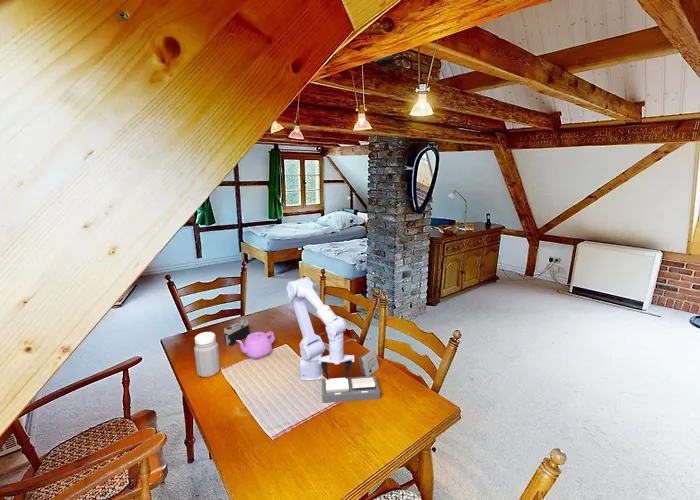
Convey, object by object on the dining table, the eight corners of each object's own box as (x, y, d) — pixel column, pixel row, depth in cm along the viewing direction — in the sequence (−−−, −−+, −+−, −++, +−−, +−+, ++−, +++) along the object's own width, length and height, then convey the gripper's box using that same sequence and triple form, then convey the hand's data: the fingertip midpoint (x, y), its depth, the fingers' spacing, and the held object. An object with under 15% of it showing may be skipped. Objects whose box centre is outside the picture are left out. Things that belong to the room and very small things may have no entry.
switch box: (322, 402, 132) (322, 396, 132) (321, 385, 143) (321, 379, 142) (380, 398, 135) (380, 392, 134) (375, 382, 145) (375, 375, 145)
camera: (241, 332, 190) (240, 315, 187) (251, 337, 185) (250, 320, 182) (219, 342, 179) (217, 325, 176) (229, 348, 174) (228, 330, 171)
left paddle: (326, 392, 135) (326, 390, 134) (325, 381, 140) (325, 378, 139) (348, 391, 136) (348, 388, 135) (347, 380, 141) (347, 377, 140)
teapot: (231, 355, 166) (230, 335, 164) (268, 342, 179) (267, 322, 177) (243, 367, 157) (241, 345, 154) (281, 351, 170) (280, 331, 167)
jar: (224, 372, 153) (220, 335, 149) (203, 381, 146) (198, 344, 142) (214, 363, 159) (210, 328, 155) (193, 372, 152) (188, 336, 148)
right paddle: (352, 388, 136) (352, 384, 136) (351, 382, 141) (351, 378, 141) (375, 386, 136) (375, 382, 136) (372, 381, 142) (372, 377, 142)
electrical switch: (367, 378, 148) (366, 358, 146) (358, 375, 151) (356, 355, 150) (379, 369, 155) (378, 350, 154) (370, 366, 158) (369, 347, 157)
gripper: (318, 354, 131) (319, 384, 135) (355, 351, 133) (355, 382, 136) (318, 344, 138) (318, 374, 141) (353, 342, 140) (353, 372, 143)
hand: (336, 377), depth 139 cm, fingers open, 7 cm apart
